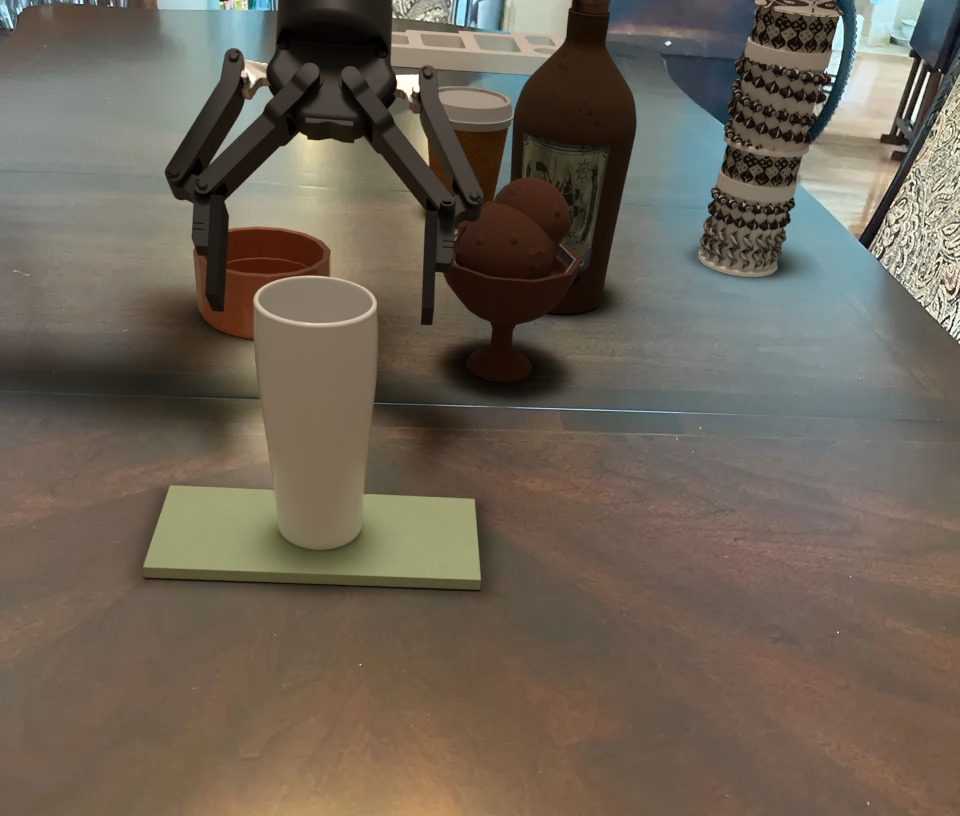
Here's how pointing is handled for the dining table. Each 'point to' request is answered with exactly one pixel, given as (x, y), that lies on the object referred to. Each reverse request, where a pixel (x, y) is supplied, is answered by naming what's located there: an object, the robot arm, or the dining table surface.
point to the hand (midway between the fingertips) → (321, 311)
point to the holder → (474, 51)
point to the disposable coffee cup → (477, 132)
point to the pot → (258, 271)
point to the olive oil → (579, 142)
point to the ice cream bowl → (512, 269)
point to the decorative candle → (768, 134)
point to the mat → (271, 558)
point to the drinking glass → (317, 402)
